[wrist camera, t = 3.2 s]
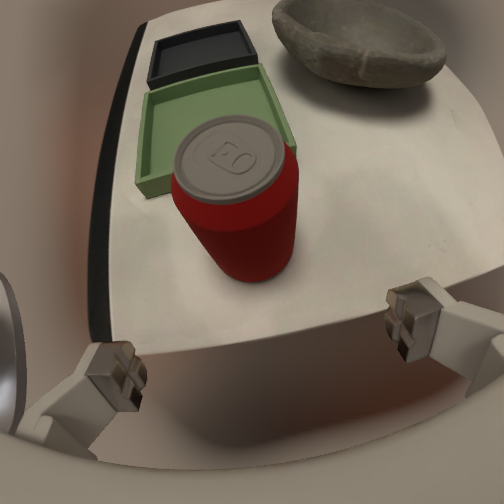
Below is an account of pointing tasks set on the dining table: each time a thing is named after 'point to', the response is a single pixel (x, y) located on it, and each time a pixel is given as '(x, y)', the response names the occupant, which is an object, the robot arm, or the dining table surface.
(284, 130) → the sage tray
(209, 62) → the slate tray
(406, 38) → the bowl
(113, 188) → the dining table surface
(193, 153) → the beverage can
